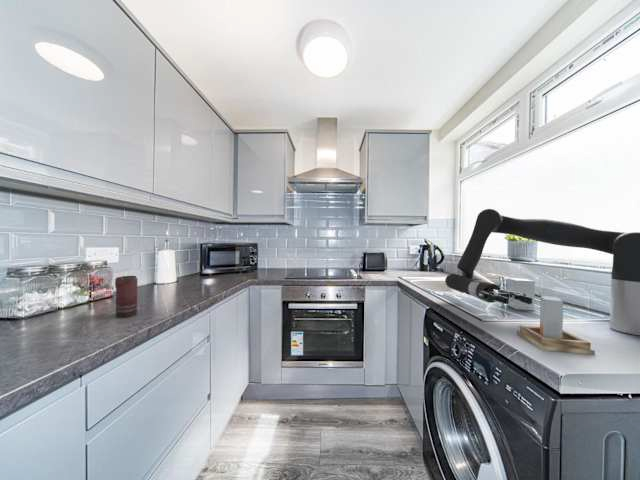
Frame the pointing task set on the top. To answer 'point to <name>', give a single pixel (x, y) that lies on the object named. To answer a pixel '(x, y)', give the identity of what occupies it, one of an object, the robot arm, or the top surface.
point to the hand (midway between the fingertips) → (519, 301)
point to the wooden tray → (556, 341)
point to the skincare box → (551, 317)
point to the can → (126, 296)
